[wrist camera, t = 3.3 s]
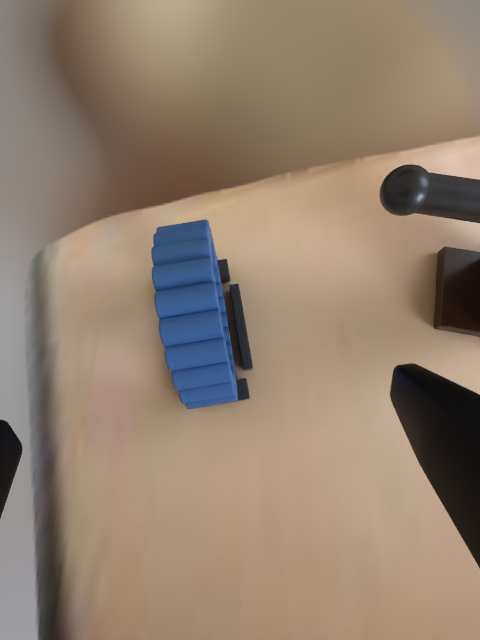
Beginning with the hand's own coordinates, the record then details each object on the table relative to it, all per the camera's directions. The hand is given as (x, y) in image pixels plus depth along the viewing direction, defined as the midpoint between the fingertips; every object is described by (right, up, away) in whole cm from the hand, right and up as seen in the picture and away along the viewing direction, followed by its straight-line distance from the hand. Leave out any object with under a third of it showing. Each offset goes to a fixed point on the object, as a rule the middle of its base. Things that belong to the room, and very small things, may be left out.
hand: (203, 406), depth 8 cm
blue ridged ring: (-1, +2, +10) cm, 10 cm away
